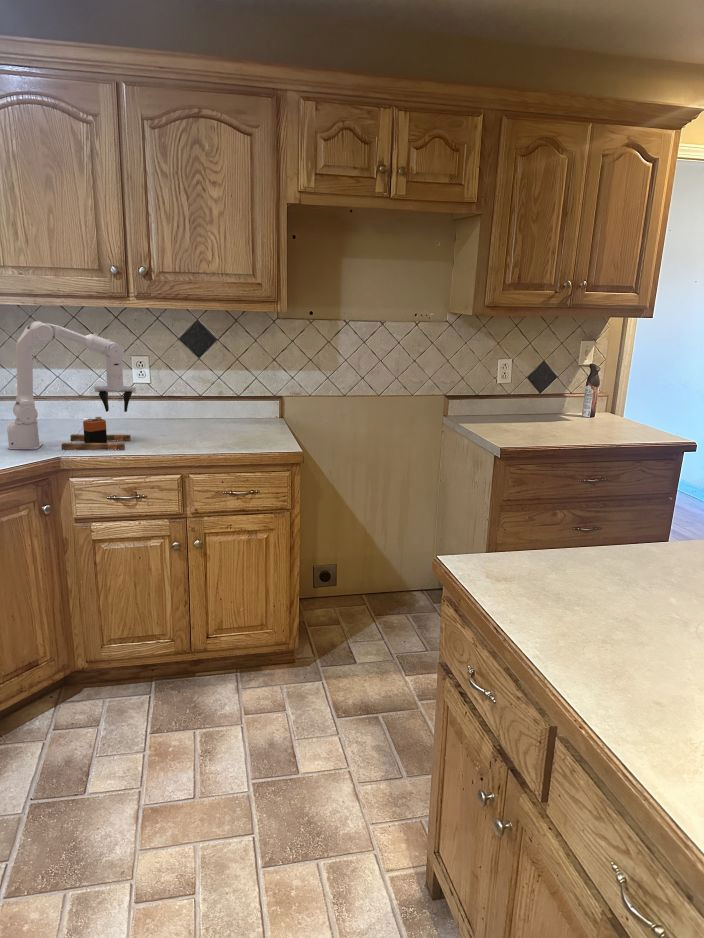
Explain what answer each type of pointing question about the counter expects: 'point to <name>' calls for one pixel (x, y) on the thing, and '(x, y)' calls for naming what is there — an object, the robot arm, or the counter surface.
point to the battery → (95, 430)
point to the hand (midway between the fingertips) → (116, 411)
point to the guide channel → (96, 445)
